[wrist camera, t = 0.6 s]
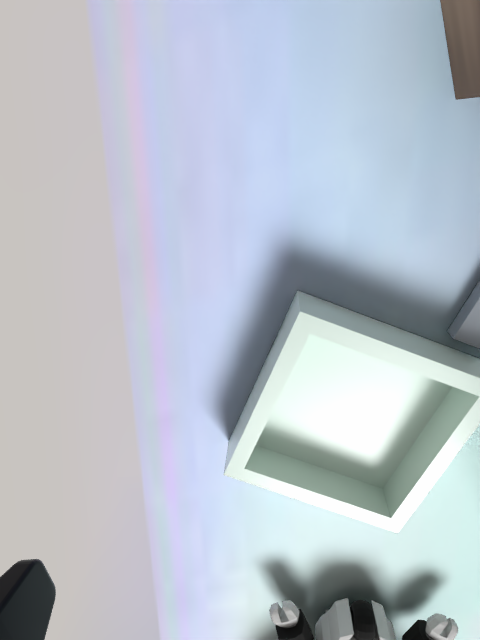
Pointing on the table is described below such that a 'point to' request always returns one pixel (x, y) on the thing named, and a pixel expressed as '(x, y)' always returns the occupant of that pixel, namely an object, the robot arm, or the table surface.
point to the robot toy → (355, 623)
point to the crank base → (468, 320)
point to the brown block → (463, 45)
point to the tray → (354, 414)
